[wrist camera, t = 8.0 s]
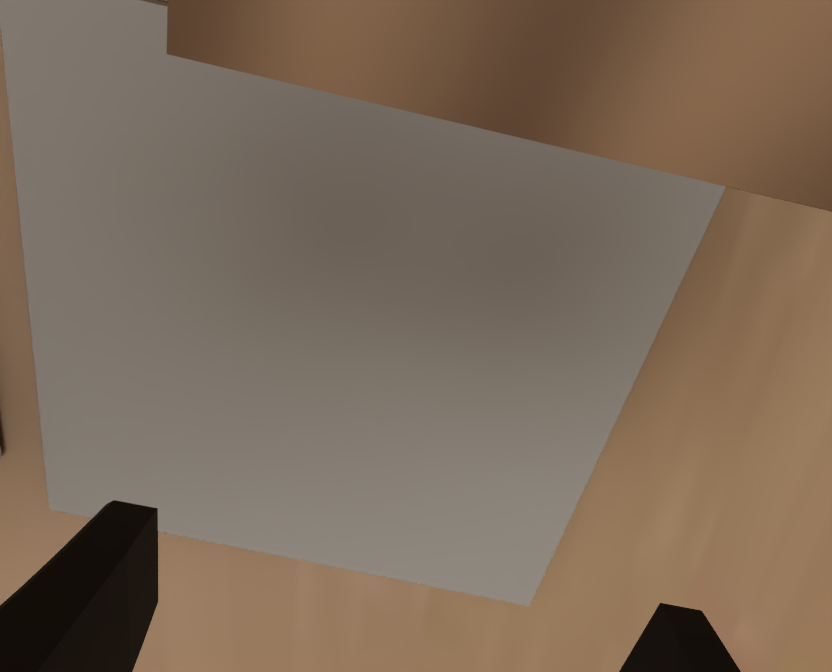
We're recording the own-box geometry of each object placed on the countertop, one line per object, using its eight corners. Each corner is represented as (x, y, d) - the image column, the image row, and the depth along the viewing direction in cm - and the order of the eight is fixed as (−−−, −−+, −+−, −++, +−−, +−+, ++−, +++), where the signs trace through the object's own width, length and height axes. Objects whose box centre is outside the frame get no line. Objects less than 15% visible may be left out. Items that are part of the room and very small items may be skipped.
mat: (54, 501, 25) (48, 509, 24) (4, -36, 16) (-6, -35, 15) (528, 596, 26) (528, 606, 25) (741, 138, 17) (745, 143, 16)
